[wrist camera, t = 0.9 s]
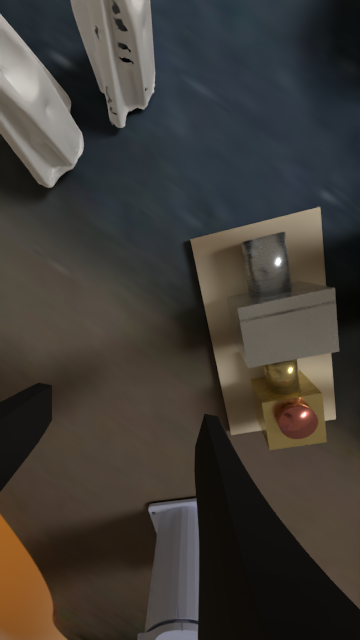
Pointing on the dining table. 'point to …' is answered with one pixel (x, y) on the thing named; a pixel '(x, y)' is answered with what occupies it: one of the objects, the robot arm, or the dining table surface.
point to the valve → (288, 406)
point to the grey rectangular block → (280, 308)
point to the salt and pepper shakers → (53, 102)
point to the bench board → (230, 279)
